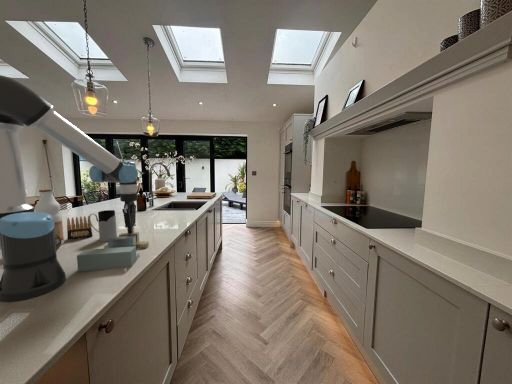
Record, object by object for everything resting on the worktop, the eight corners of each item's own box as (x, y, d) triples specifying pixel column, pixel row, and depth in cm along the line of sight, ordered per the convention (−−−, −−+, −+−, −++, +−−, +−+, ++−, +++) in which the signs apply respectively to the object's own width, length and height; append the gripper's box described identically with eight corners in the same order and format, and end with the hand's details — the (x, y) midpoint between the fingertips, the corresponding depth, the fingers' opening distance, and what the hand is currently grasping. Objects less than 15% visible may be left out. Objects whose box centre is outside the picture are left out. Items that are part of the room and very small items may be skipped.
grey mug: (110, 241, 115) (109, 213, 114) (84, 241, 115) (82, 213, 114) (121, 236, 124) (119, 209, 122) (96, 236, 124) (94, 209, 123)
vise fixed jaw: (131, 266, 84) (130, 251, 84) (78, 271, 81) (76, 255, 80) (139, 256, 94) (138, 243, 94) (92, 260, 90) (90, 246, 90)
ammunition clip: (92, 236, 124) (91, 215, 123) (92, 236, 123) (90, 215, 122) (68, 239, 119) (66, 217, 117) (67, 240, 117) (65, 218, 116)
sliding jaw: (146, 247, 105) (145, 235, 104) (104, 251, 101) (103, 238, 100) (150, 243, 111) (149, 231, 111) (110, 245, 108) (109, 233, 107)
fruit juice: (55, 248, 105) (49, 189, 102) (32, 249, 103) (26, 190, 100) (68, 241, 114) (63, 188, 111) (48, 243, 112) (42, 188, 110)
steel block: (133, 253, 98) (132, 238, 98) (108, 255, 96) (107, 239, 95) (136, 250, 102) (135, 235, 101) (112, 252, 100) (111, 237, 99)
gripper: (132, 194, 103) (135, 242, 106) (140, 191, 116) (143, 235, 118) (115, 194, 102) (118, 244, 104) (125, 191, 114) (127, 236, 117)
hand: (131, 239), depth 111 cm, fingers closed
